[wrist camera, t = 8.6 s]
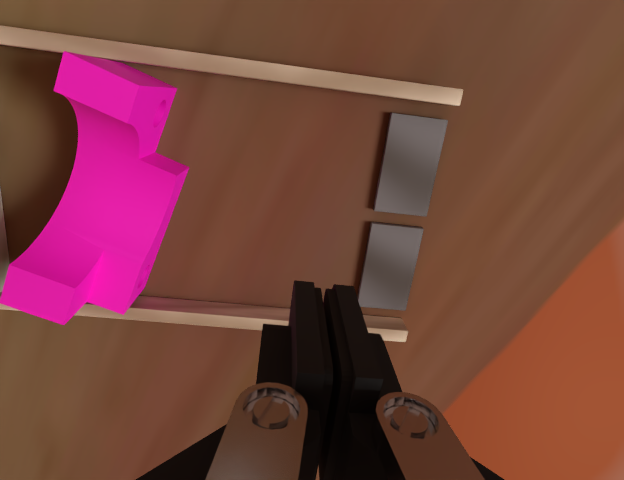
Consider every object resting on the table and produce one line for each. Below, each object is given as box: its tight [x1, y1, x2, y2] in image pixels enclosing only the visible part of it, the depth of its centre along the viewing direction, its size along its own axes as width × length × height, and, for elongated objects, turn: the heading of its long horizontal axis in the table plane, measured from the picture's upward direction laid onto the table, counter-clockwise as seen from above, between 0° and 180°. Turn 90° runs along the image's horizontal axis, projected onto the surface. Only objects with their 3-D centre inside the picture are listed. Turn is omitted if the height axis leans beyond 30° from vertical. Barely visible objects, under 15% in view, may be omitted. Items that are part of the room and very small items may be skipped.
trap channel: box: [0, 26, 463, 342], centre depth 28 cm, size 19×32×4 cm, turn 83°
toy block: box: [0, 51, 189, 325], centre depth 26 cm, size 15×6×8 cm, turn 155°
